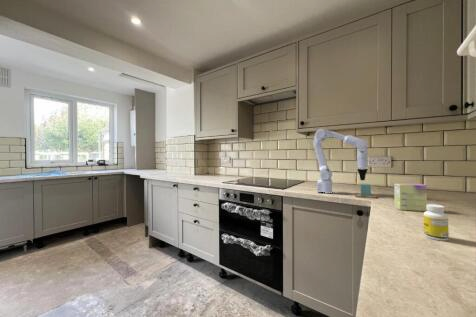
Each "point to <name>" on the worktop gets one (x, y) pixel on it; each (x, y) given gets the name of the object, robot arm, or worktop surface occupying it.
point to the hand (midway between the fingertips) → (362, 180)
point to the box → (410, 196)
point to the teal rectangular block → (366, 189)
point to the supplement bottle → (436, 222)
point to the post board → (366, 196)
